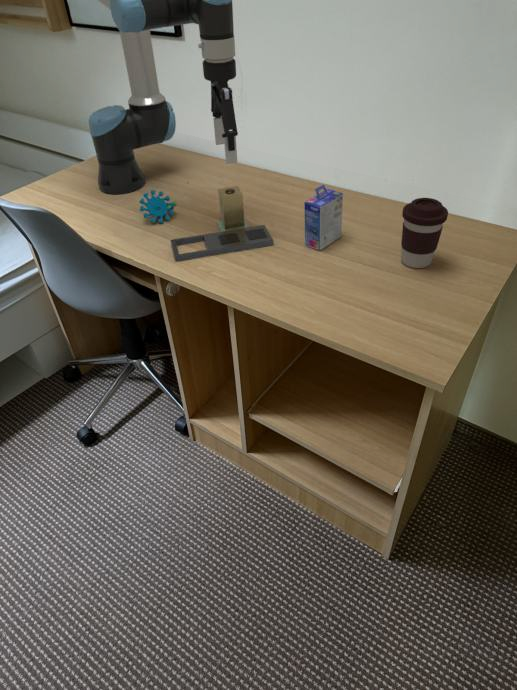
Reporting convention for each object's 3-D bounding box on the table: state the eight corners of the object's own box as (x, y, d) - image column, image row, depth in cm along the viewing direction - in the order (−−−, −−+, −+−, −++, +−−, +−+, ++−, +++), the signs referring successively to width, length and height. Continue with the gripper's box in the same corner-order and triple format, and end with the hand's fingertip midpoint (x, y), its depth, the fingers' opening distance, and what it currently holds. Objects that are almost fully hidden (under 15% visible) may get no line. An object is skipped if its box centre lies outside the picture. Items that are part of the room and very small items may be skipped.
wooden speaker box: (221, 222, 141) (218, 188, 134) (240, 219, 142) (237, 185, 135) (225, 231, 137) (221, 196, 130) (244, 228, 137) (242, 193, 131)
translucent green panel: (216, 222, 142) (216, 221, 141) (243, 218, 143) (243, 217, 143) (221, 235, 136) (221, 234, 135) (250, 231, 137) (250, 229, 137)
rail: (171, 244, 133) (170, 239, 132) (264, 229, 137) (264, 224, 136) (175, 261, 126) (174, 256, 125) (273, 245, 131) (273, 239, 130)
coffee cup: (429, 276, 116) (442, 217, 106) (389, 265, 120) (397, 208, 111) (442, 256, 122) (455, 199, 113) (403, 247, 127) (412, 191, 117)
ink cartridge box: (325, 230, 135) (327, 178, 126) (342, 236, 132) (345, 184, 123) (302, 245, 130) (303, 192, 120) (319, 251, 127) (322, 198, 118)
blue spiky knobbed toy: (144, 223, 140) (136, 190, 140) (141, 231, 145) (133, 199, 146) (182, 219, 144) (173, 187, 145) (177, 227, 149) (169, 195, 150)
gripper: (193, 49, 120) (203, 138, 135) (212, 73, 102) (221, 173, 116) (224, 46, 122) (230, 135, 136) (247, 69, 104) (252, 169, 118)
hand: (226, 153), depth 126 cm, fingers open, 13 cm apart
